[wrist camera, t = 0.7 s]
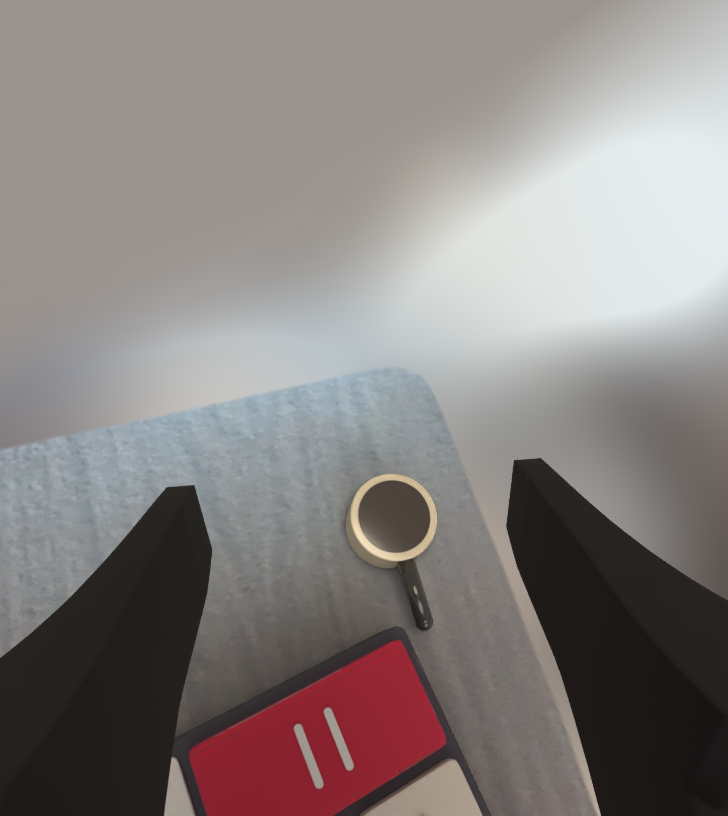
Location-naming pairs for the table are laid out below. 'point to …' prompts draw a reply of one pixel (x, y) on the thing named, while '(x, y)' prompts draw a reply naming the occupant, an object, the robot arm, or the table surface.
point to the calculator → (330, 746)
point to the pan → (394, 532)
